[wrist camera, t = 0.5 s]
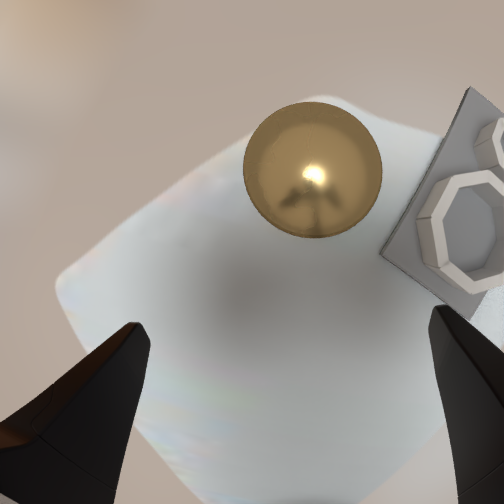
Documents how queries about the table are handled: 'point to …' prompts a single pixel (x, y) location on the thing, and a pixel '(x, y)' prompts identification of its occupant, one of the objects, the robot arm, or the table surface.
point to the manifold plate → (458, 212)
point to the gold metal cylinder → (312, 170)
